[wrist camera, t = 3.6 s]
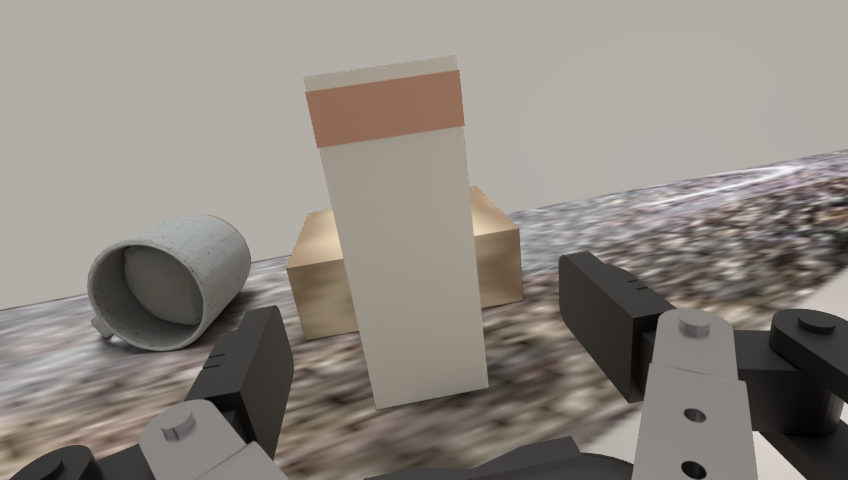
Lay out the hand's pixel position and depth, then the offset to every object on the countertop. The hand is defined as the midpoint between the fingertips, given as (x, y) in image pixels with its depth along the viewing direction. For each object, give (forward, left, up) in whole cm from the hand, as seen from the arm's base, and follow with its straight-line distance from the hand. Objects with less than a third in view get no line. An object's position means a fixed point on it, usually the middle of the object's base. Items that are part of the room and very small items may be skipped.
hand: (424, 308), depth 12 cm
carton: (0, +9, -8) cm, 12 cm away
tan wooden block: (0, +19, -8) cm, 21 cm away
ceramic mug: (-17, +19, -9) cm, 27 cm away
